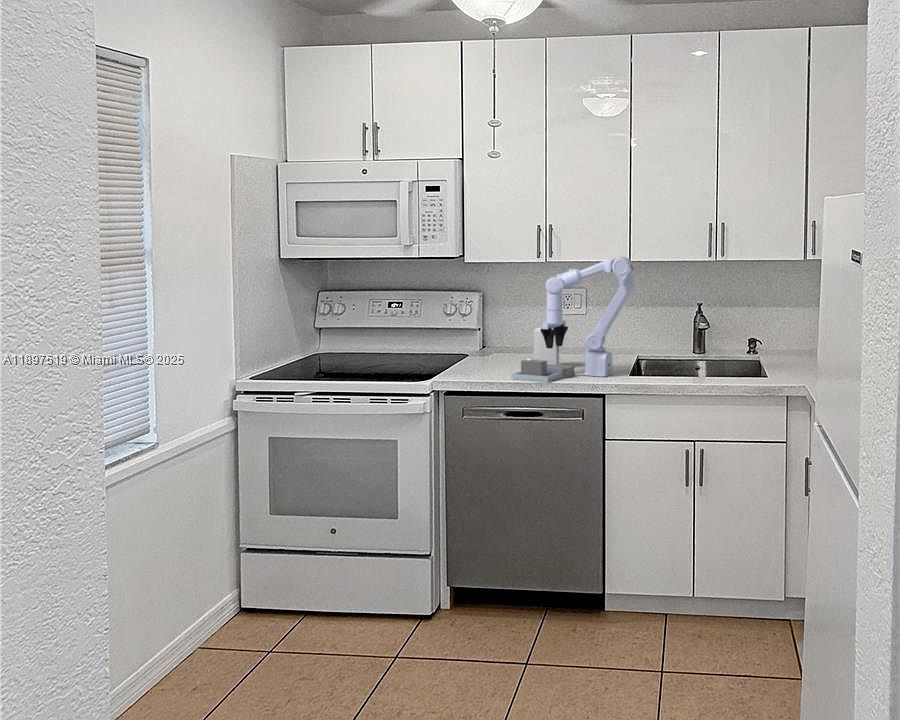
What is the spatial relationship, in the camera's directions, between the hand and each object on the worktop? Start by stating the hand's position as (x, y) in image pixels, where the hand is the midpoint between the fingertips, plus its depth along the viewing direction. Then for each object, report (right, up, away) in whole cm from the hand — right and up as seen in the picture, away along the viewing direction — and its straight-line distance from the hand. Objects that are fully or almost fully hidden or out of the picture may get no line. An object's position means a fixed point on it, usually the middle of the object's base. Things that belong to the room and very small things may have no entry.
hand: (554, 347), depth 420 cm
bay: (0, -10, -3) cm, 11 cm away
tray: (-8, -12, -11) cm, 18 cm away
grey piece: (-1, -8, +18) cm, 19 cm away
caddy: (-8, -11, -11) cm, 17 cm away
